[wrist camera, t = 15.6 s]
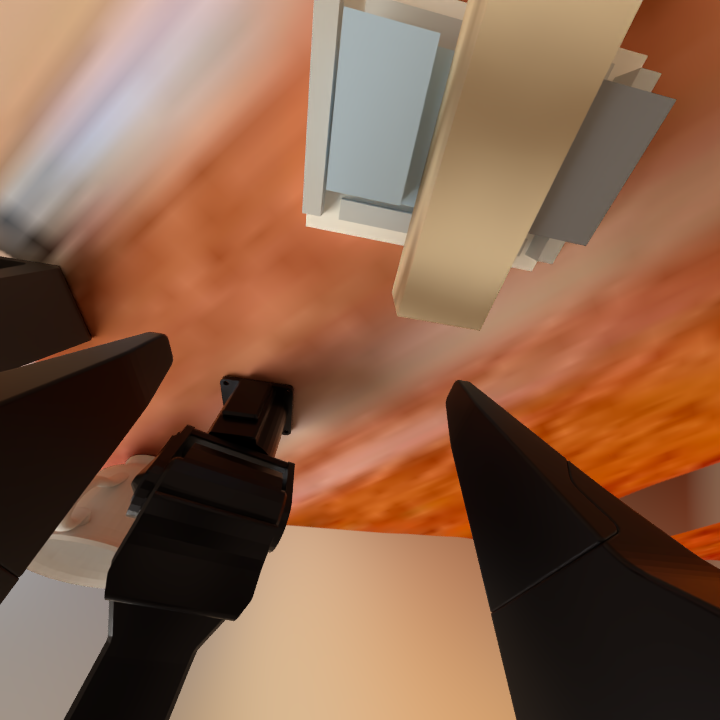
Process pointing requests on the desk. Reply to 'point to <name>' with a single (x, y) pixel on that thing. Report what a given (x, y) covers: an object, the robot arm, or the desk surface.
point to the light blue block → (419, 115)
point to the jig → (323, 207)
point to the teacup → (92, 528)
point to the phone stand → (36, 313)
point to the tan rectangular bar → (500, 146)
